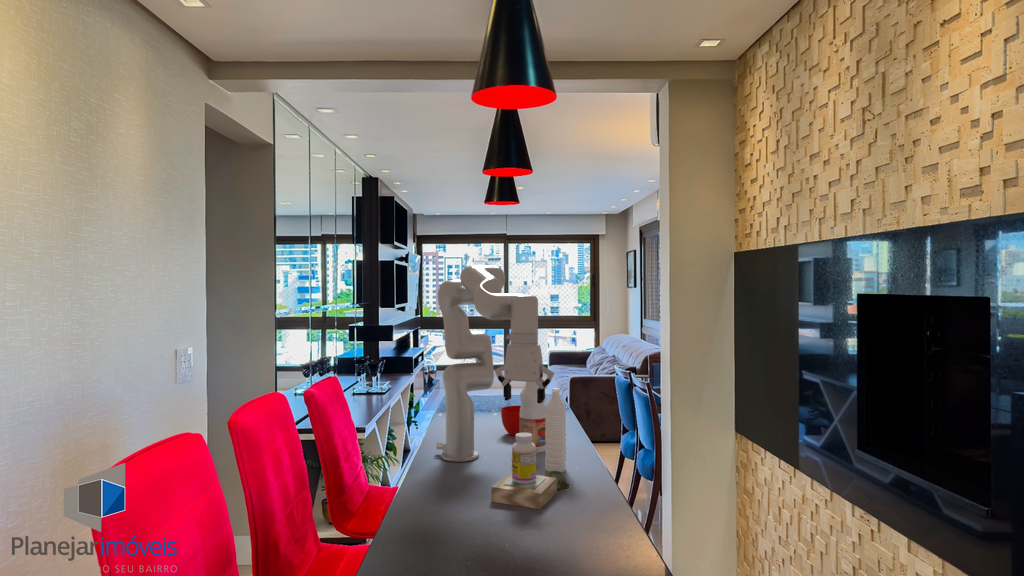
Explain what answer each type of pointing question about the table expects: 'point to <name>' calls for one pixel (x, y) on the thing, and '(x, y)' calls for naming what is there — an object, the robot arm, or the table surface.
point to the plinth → (524, 491)
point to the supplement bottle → (523, 459)
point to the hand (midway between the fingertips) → (523, 401)
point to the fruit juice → (533, 416)
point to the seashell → (559, 480)
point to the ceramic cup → (511, 419)
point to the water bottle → (555, 433)
